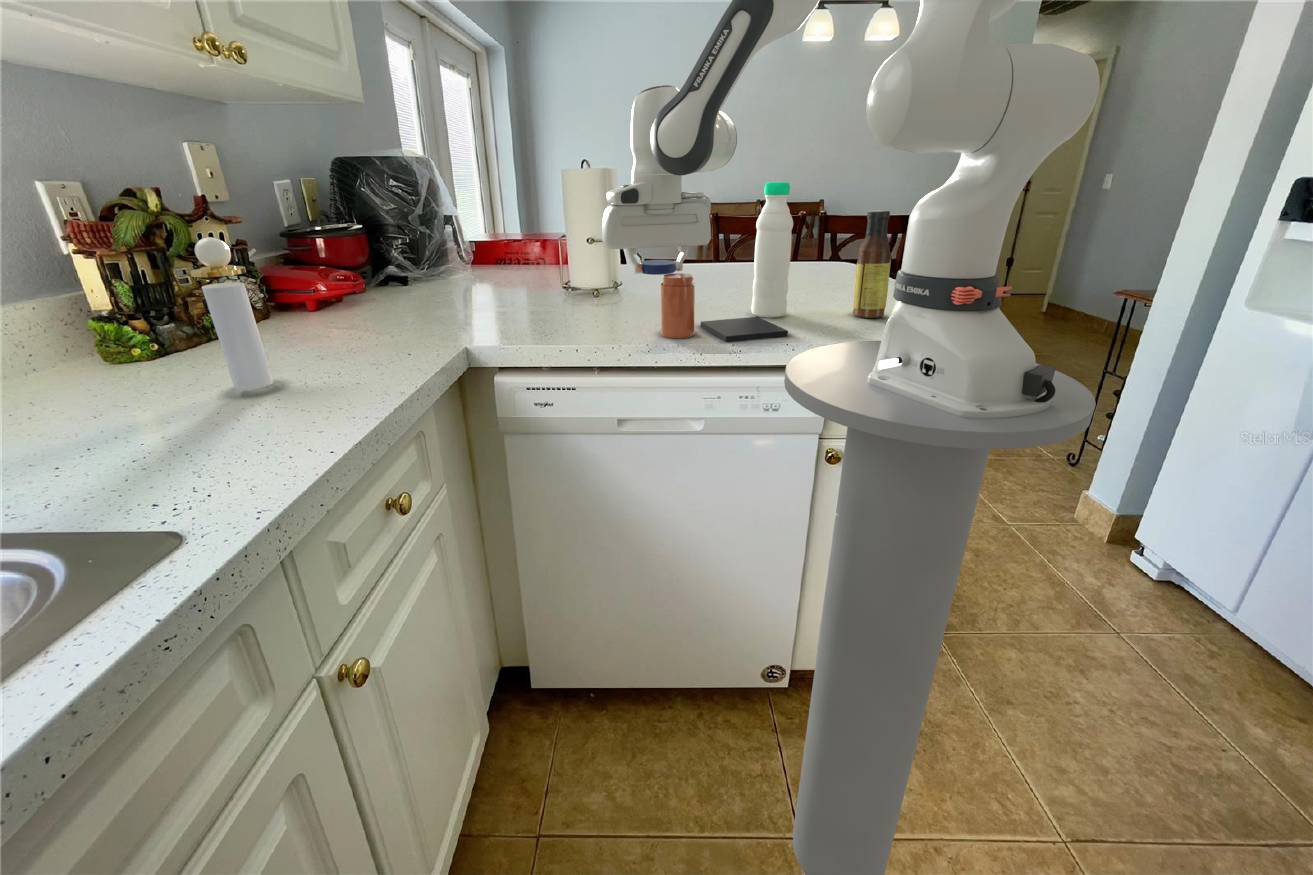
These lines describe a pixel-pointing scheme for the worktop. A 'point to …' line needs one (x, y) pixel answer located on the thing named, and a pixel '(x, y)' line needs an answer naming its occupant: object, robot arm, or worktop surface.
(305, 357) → the worktop surface
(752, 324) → the coaster
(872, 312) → the sauce bottle
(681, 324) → the jar
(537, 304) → the worktop surface
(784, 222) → the water bottle
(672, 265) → the lid
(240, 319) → the perfume bottle
